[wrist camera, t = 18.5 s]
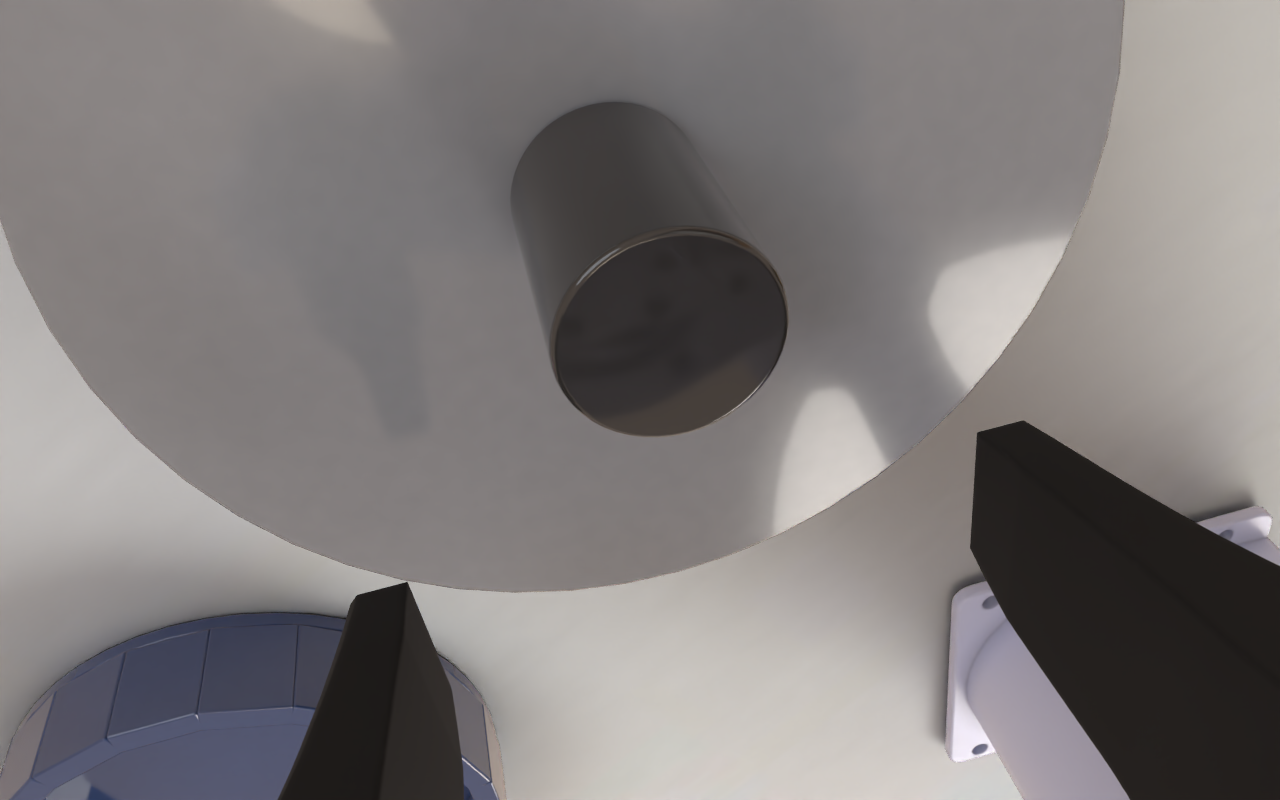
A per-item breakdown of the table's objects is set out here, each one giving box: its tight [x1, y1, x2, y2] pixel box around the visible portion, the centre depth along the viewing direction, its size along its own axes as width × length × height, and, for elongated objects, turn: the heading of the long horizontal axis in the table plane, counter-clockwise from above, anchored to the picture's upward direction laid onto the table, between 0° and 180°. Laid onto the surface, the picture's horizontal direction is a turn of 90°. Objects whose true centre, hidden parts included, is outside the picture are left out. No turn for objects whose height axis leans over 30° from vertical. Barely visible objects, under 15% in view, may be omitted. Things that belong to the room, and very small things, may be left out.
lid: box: [0, 0, 1125, 593], centre depth 12 cm, size 14×14×4 cm
